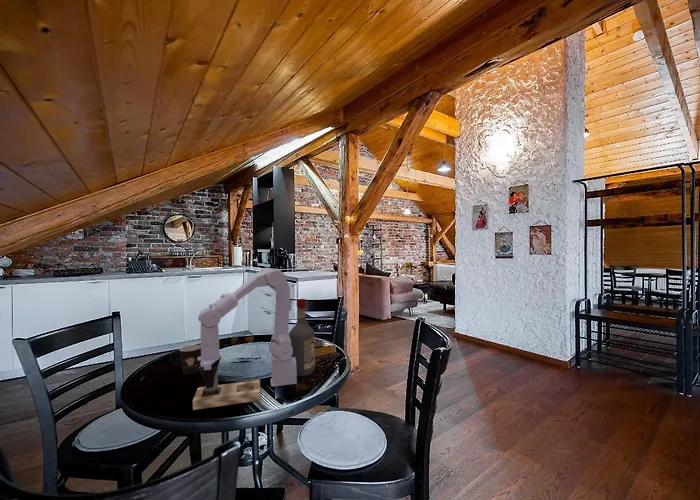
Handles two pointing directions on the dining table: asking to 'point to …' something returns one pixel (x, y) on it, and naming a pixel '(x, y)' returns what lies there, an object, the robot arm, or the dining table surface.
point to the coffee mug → (189, 358)
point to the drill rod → (215, 388)
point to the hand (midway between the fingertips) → (211, 383)
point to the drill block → (228, 395)
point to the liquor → (303, 342)
